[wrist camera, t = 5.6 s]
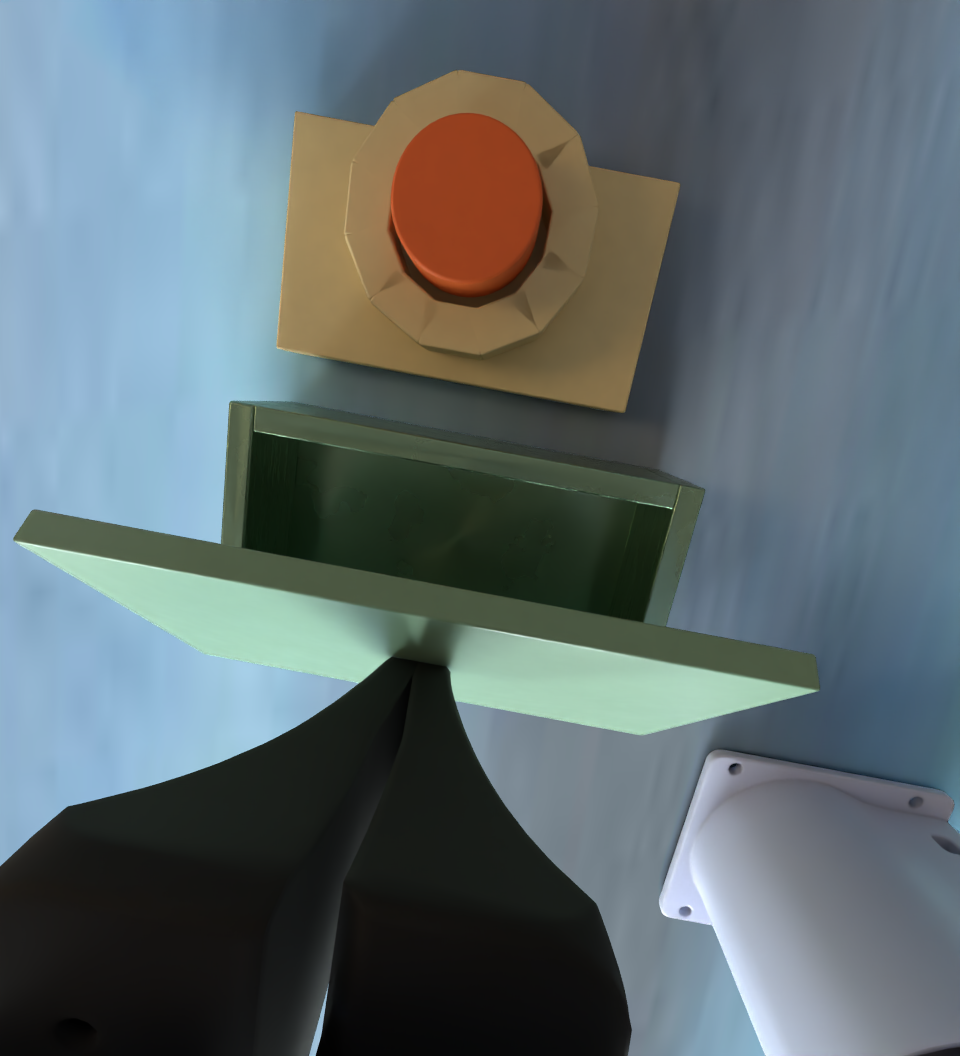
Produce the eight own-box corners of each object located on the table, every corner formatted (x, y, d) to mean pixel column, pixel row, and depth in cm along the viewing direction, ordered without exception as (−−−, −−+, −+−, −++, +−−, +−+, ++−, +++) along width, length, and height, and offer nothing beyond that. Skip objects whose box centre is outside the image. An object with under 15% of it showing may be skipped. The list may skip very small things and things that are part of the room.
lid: (32, 507, 8) (9, 540, 8) (817, 653, 8) (822, 691, 8) (211, 633, 15) (203, 653, 15) (643, 714, 15) (642, 735, 15)
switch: (551, 162, 13) (557, 126, 11) (523, 308, 14) (526, 295, 12) (414, 136, 13) (401, 97, 11) (395, 285, 14) (380, 268, 12)
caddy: (290, 400, 17) (227, 400, 13) (660, 470, 17) (706, 489, 14) (273, 589, 19) (214, 638, 15) (611, 652, 19) (640, 717, 15)
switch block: (673, 170, 15) (713, 115, 12) (615, 412, 17) (638, 414, 14) (315, 103, 15) (271, 32, 12) (293, 352, 17) (250, 341, 14)
